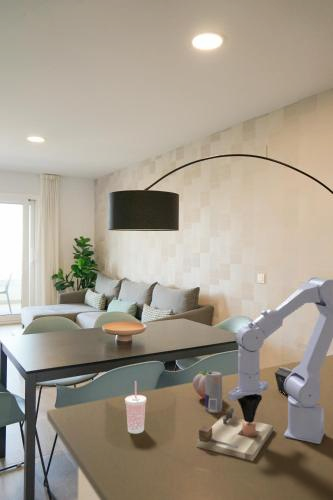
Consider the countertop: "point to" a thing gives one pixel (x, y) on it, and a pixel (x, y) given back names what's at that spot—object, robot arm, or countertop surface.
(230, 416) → the grey rectangular block
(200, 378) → the decorative fruit
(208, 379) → the energy drink
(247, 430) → the terracotta button
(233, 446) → the control panel
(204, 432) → the walnut slider
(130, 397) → the beverage cup
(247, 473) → the countertop surface
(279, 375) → the electrical switch
